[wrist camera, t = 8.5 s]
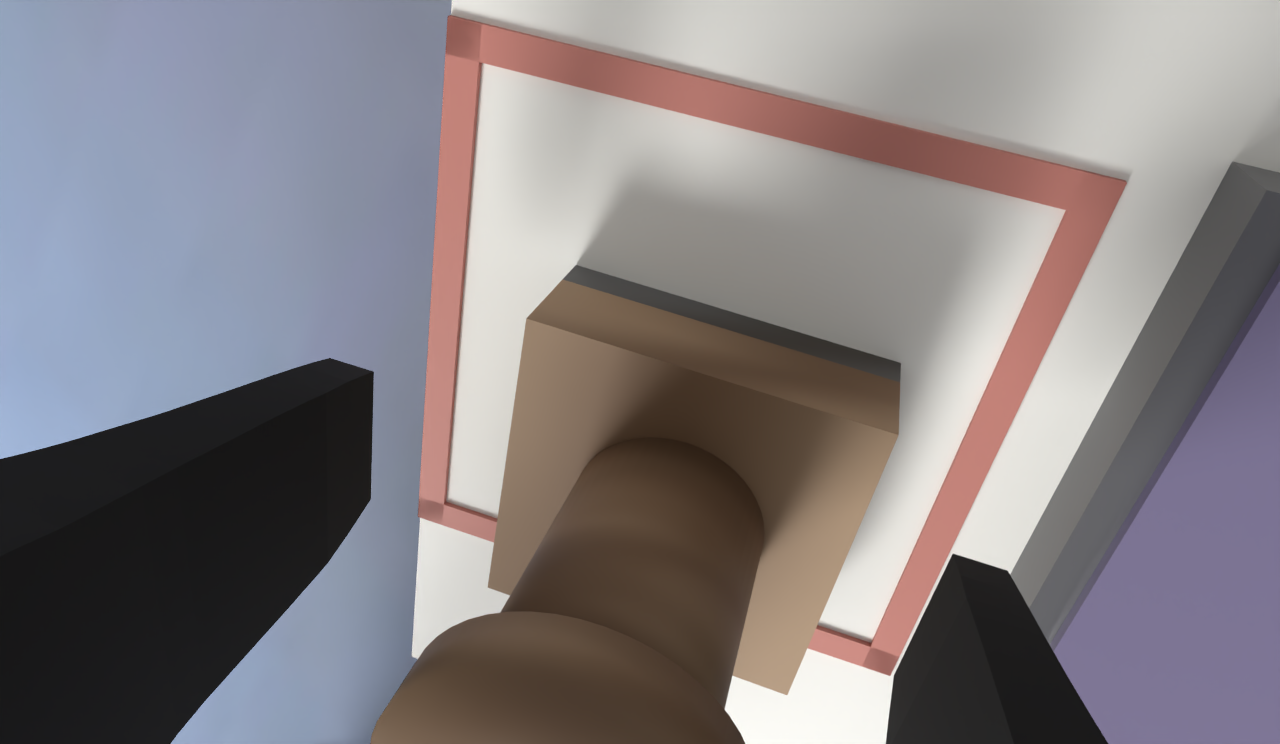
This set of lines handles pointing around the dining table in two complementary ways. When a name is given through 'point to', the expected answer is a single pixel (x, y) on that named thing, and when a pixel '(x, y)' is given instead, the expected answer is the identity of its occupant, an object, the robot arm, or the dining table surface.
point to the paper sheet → (835, 247)
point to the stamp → (656, 523)
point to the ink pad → (1180, 503)
